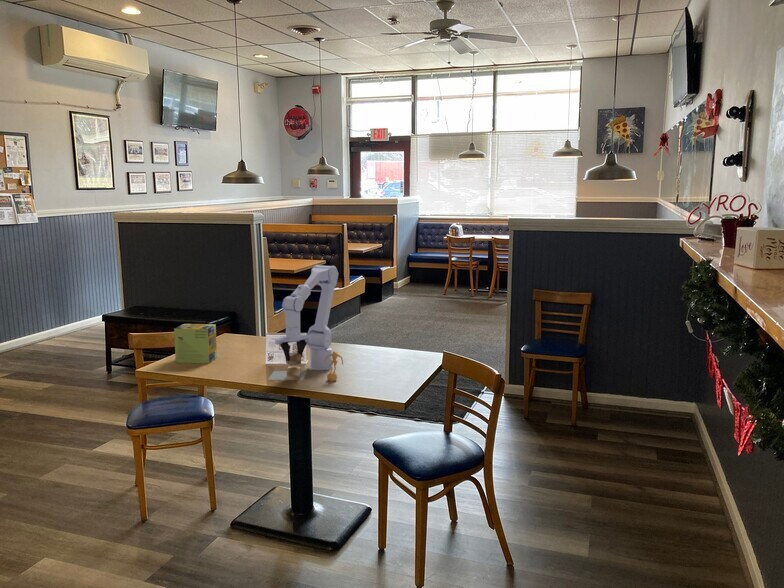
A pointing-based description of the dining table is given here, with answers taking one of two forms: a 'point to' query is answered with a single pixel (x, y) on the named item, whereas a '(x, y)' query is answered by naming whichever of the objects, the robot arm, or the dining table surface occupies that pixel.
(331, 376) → the figurine
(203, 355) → the protein box
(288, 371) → the oak block
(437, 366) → the dining table surface
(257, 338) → the dining table surface
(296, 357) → the walnut block
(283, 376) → the mat
